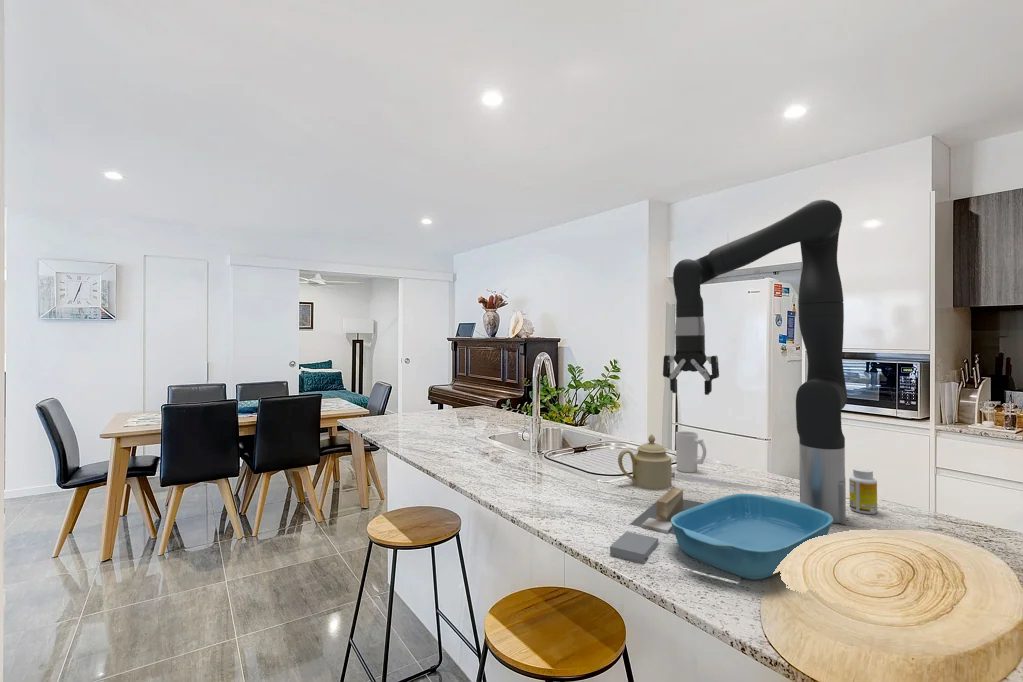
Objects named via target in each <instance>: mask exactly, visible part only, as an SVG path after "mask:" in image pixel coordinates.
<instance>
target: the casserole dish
mask: <svg viewBox="0 0 1023 682" xmlns="http://www.w3.org/2000/svg"><path fill="white" fill-rule="evenodd" d="M703 503H704V504H702V505H699V506H696V507H693V508H690V509H688V510H685V511H683V512H680V513H678V514H676V515H674V516H673V517H672V518H671V524H672V526H673V529H674V533H675V535H674V536H675V538H676V542H677V544H678V546H679V548H680V549H681V550H682V551H683V552H684V553H685V554H686V555H688V556H689V557H691V558H693V559H695V560H697V561H700V562H702V563H705V564H707V565H709V566H712V567H715V568H718V569H720V570H723V571H725V572H727V573H729V574H733V575H736V576H739V577H740V578H742V579H746V580H755V581H757V580H763V579H767V578H769V577H771V575H772V574H773V572H774V571H775V569H776V568H777V566H778V565H779V564H780V562H781V561H782V560H783V559H784V558H785V557H786V556H787V554H789V553H790V552H791V551H792V550H793V549H794V548H796V547H797V546H799V545H800V544H802V543H803V542H805V541H807V540H809V539H812V538H815V537H818V536H823V535H827V534H828V535H829V531H830V529H831V526H832V524H833V523H832V522H833V517H832V516H831V515H830V514H828V513H827V512H824V511H822V510H819V509H816V508H813V507H811V506H809V505H807V504H804V503H801V502H800V501H797V500H792V499H789V498H784V497H779V496H770V495H769V496H768V495H762V494H755V493H736V494H735V493H734V494H730V495H727V496H723V497H719V498H716V499H714V500H710V501H708V502H703ZM828 535H827V536H828ZM772 576H773V575H772Z"/></svg>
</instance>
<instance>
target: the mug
mask: <svg viewBox="0 0 1023 682" xmlns="http://www.w3.org/2000/svg"><path fill="white" fill-rule="evenodd" d="M699 445H700V446H701V450H702V455H701V457H700V458H698V456H699V455H698V453H699V452H698V451H699V449H698V448H699V447H698V446H699ZM675 452H676V454H675V455H676V470H677V471H679V472H681V473H687V474H688V473H696V472H697V471H698V465H703V464H704V462H705V459H706V456H707V448H706V444H705V442H704V439H702V438H699V433H697V432H695V431H686V430H684V431H683V430H681V431H676V432H675Z"/></svg>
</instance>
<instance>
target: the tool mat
mask: <svg viewBox="0 0 1023 682" xmlns="http://www.w3.org/2000/svg"><path fill="white" fill-rule="evenodd" d="M704 503H705V502H700V501H696V500H691V499H690V500H689V499H684V498H683V510H682V511H681V512H683V511H685V510H688V509H690V508H693V507H696V506H699V505H702V504H704ZM648 518H653V519H657V509H656V502H654V503H653V504H652V505H651V506H649V508H647V509H646V510H645V511H643V512H642V513H641V514H640V515H639V516H637V517H636V518H635V519H634V520H632V522H630V523H629V525H630V526H635V527H639V528H641V524H643V523H644V522H645V521H646V520H647V519H648ZM670 522H671V521H670ZM668 534H671V535H674V536H675V533H674V529H672V530H671V531H670V532H669V533H668Z"/></svg>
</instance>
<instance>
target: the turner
mask: <svg viewBox="0 0 1023 682" xmlns="http://www.w3.org/2000/svg"><path fill="white" fill-rule="evenodd" d="M683 499H684V488H683V489H682V488H679V487H672V488H671V489H669V490H667V492H666V493H664V494H663V495H662V496H661V497H659V498H658V499H657V500H656V501H655V503H656V509H657V519H653V518H648V519H647V520H646V521H645V522H644V523H643V524H641V527H640V528H642V529H647V530H651V531H654V532H655V531H656V532H660V533H663V534H670V533H669V532H670V531H671V530H672V529H673V526H672V524H671V522H670V521H671V518H672V517H673V516H674V515H676V514H678V513H680V512H681V511H682V510H683Z"/></svg>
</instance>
